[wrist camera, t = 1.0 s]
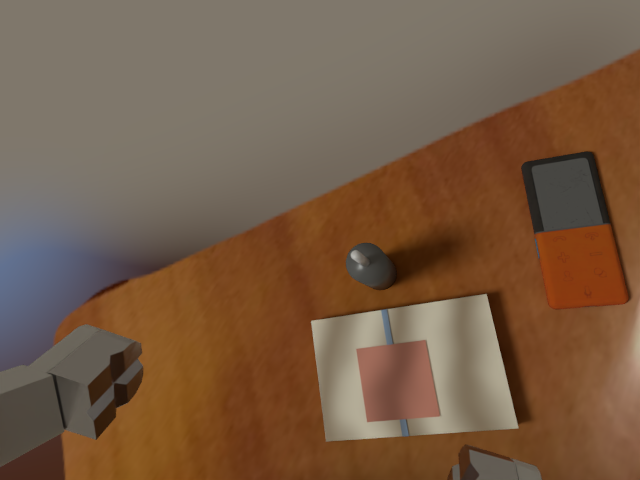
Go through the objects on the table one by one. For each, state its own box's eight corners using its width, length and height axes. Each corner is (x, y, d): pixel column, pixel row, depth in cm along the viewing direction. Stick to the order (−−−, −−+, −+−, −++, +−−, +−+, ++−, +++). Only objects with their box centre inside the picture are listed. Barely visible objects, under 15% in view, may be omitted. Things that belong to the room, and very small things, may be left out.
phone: (551, 309, 37) (521, 160, 41) (547, 310, 38) (519, 165, 42) (632, 303, 35) (594, 148, 39) (626, 304, 37) (589, 153, 40)
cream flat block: (485, 295, 40) (486, 293, 38) (515, 424, 37) (518, 428, 35) (315, 321, 45) (310, 320, 43) (330, 437, 42) (325, 441, 40)
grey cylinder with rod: (393, 254, 43) (373, 229, 32) (399, 287, 43) (381, 272, 31) (361, 260, 44) (331, 238, 33) (366, 292, 44) (337, 280, 32)
